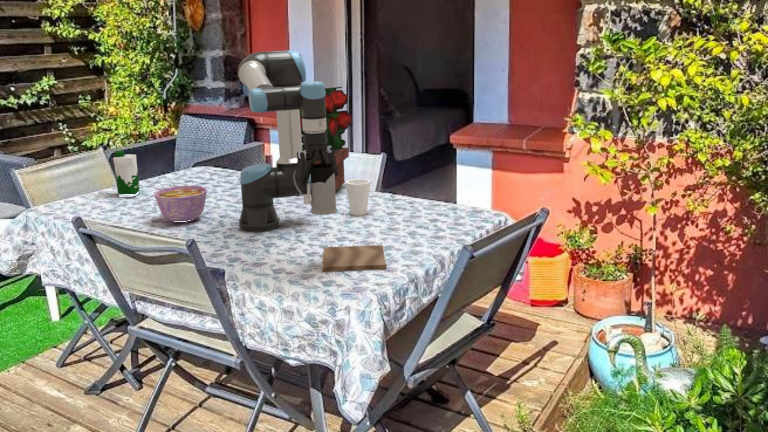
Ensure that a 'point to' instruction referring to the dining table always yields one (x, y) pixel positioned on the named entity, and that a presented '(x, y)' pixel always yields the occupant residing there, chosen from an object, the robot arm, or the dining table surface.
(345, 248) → the walnut board
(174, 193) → the bowl of food
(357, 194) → the foam cup
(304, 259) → the dining table surface
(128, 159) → the mojito glass
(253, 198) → the robot arm
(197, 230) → the dining table surface
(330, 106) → the potted plant
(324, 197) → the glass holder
